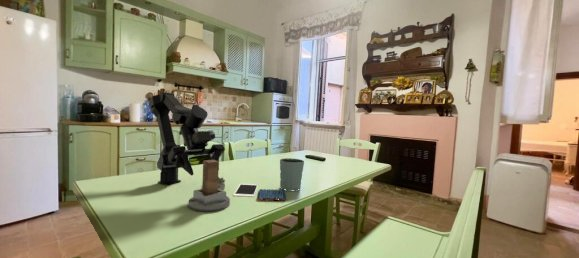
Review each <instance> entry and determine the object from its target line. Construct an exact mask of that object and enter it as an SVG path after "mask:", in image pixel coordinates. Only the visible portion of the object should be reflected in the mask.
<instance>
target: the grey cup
mask: <svg viewBox="0 0 579 258" xmlns="http://www.w3.org/2000/svg"><path fill="white" fill-rule="evenodd" d="M304 164H305V161H304V160H303V159H298V158H292V157H291V158H289V157H287V158H284V157H283V158H281V159H279V170H280V172H279V174H280V175H279V177H280V181H279V188H280V187H281V188H282V189H286V190H298V189H300V190H301V188H302V187H301V185H302V179H303V178H302V177H303V171H304ZM281 188H280V189H281ZM282 189H281V190H282ZM298 191H299V190H298Z"/></svg>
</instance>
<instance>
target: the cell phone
mask: <svg viewBox="0 0 579 258" xmlns="http://www.w3.org/2000/svg"><path fill="white" fill-rule="evenodd" d="M258 187H259V184H254V183H253V184H252V183H239V185H238V187H237V188H236V189H235V191H234V193H233V194H232V197H247V198H255V195H256V193H257V190H258ZM255 192H256V193H255Z"/></svg>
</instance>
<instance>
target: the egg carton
mask: <svg viewBox="0 0 579 258" xmlns="http://www.w3.org/2000/svg"><path fill="white" fill-rule="evenodd" d="M225 182H226V180H225V179H224V177H223V176H222V177H220V176H218V188H219V189H221V190H223V191H224V190H225V187H226V185H225Z"/></svg>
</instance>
